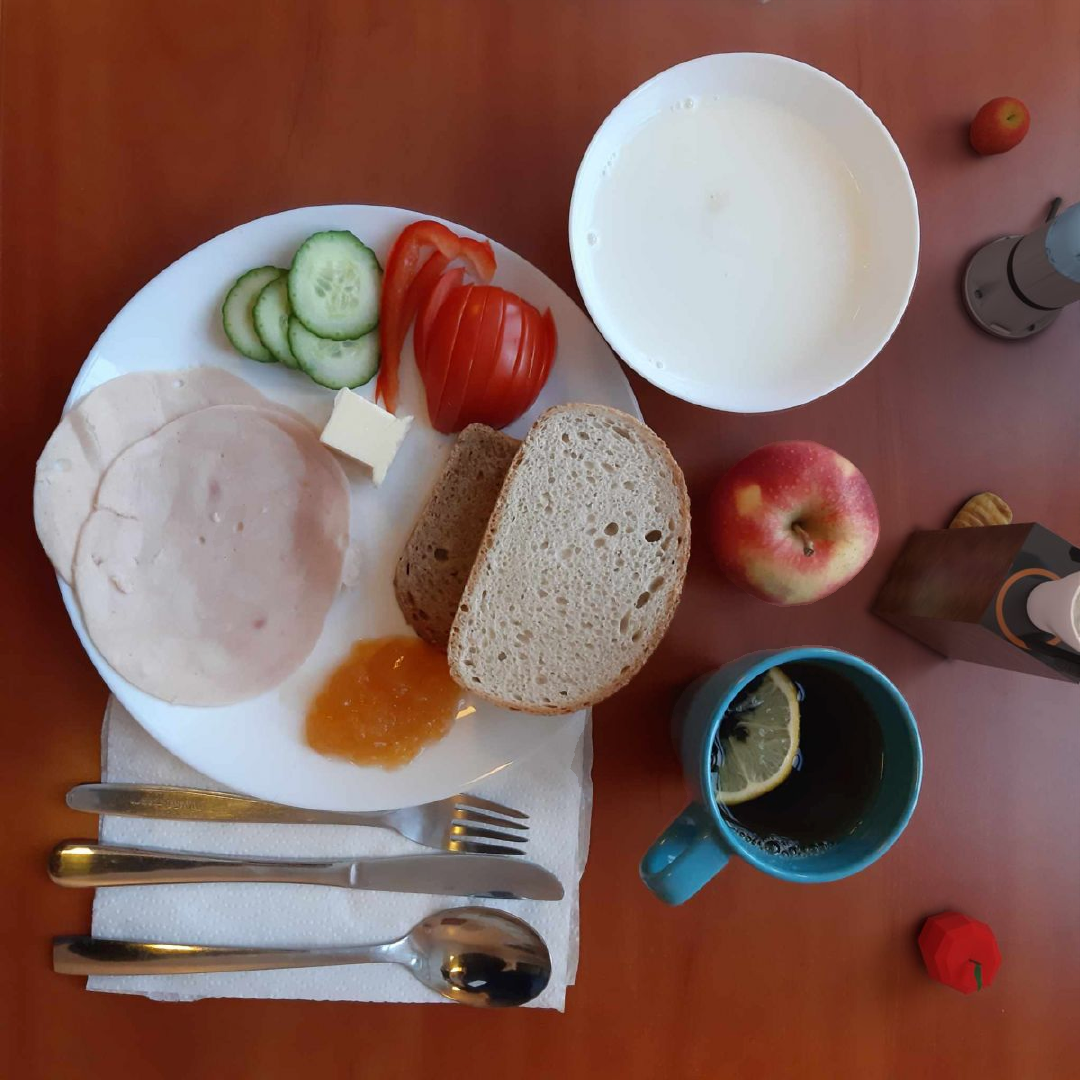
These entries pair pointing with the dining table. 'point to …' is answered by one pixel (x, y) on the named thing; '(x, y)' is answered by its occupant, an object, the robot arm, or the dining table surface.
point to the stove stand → (958, 594)
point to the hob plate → (1031, 567)
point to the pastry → (983, 512)
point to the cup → (1058, 609)
